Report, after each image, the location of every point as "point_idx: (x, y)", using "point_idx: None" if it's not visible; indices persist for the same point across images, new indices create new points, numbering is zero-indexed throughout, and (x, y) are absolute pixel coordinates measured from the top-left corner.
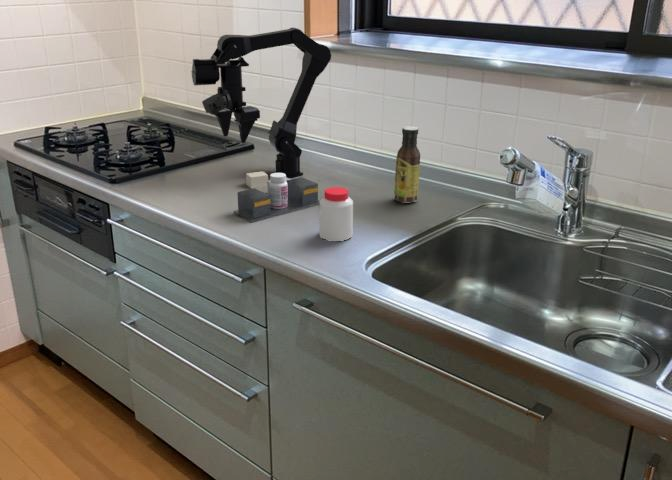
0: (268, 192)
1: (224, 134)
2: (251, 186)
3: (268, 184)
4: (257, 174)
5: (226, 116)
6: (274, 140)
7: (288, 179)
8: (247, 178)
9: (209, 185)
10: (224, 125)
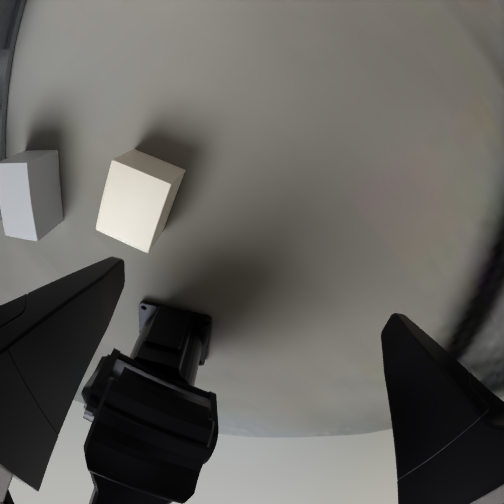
0: (48, 151)
1: (398, 322)
2: (129, 151)
3: (29, 160)
4: (126, 207)
5: (432, 475)
6: (122, 401)
7: (13, 228)
8: (162, 172)
9: (304, 64)
10: (424, 389)
